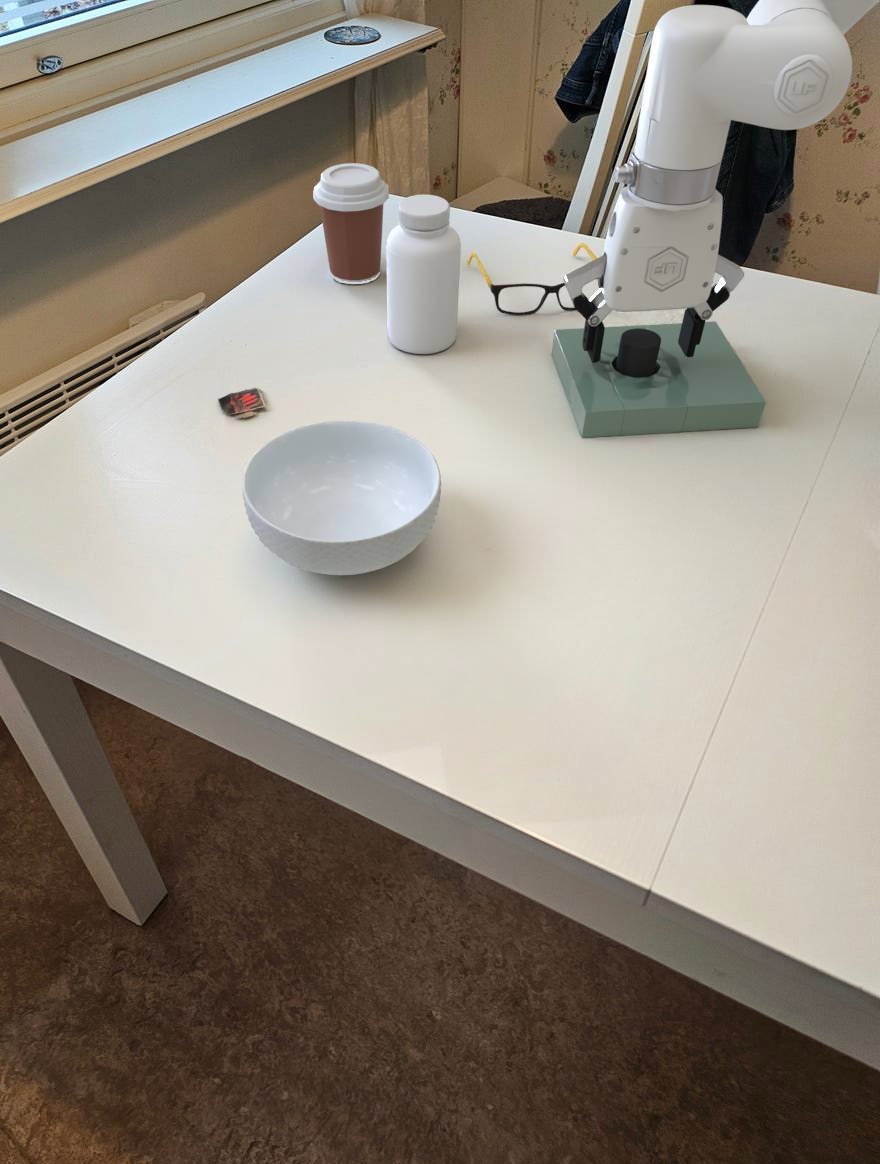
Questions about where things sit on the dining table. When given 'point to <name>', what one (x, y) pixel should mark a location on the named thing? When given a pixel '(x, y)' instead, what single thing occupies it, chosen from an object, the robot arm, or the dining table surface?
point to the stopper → (638, 353)
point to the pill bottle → (423, 276)
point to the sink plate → (657, 385)
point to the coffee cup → (352, 219)
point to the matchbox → (242, 402)
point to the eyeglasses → (548, 289)
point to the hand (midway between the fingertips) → (638, 353)
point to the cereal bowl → (342, 496)
